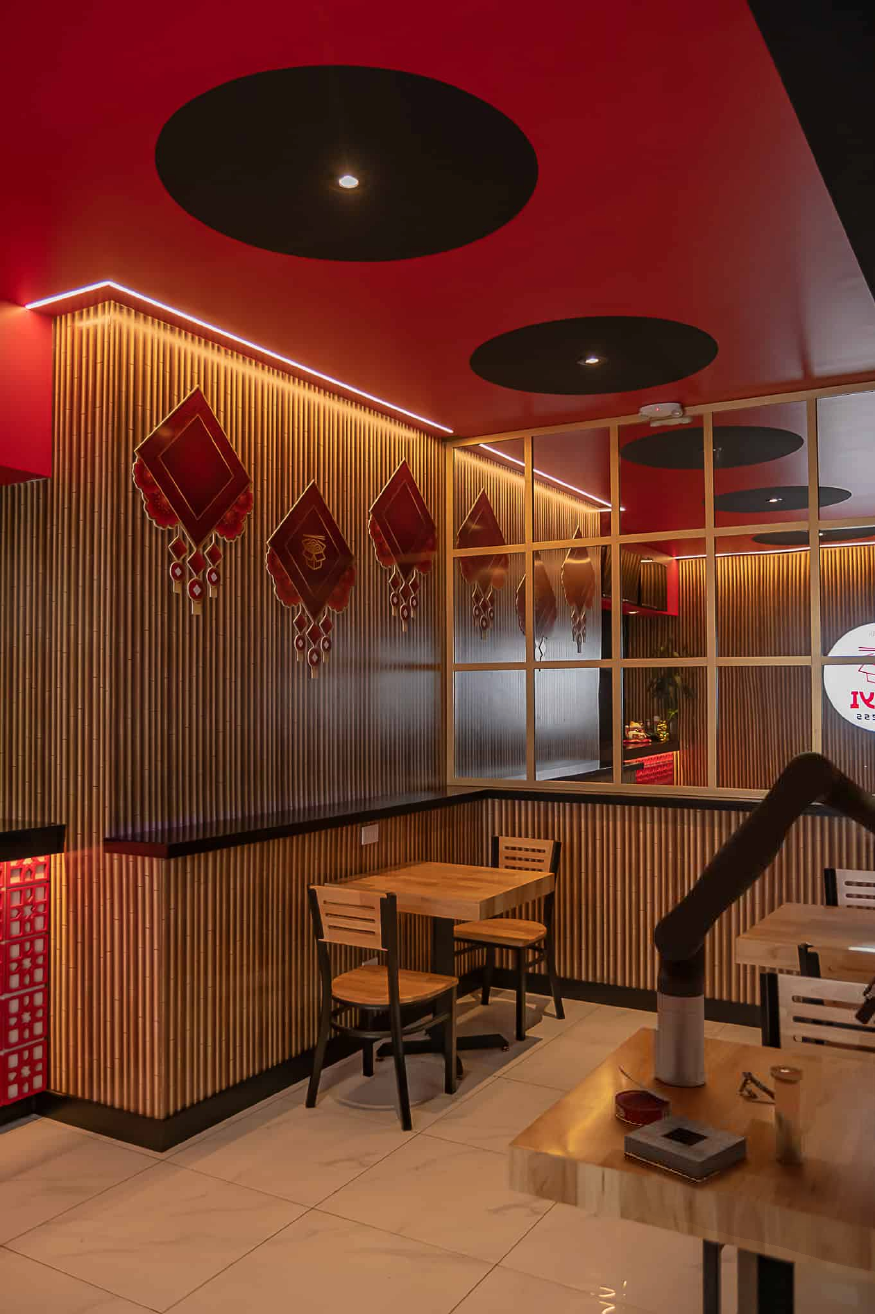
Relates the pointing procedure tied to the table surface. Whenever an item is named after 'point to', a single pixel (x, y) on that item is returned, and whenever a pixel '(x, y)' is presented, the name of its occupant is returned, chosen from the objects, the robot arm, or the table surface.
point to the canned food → (641, 1105)
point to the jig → (686, 1146)
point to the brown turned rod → (757, 1083)
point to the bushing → (787, 1113)
